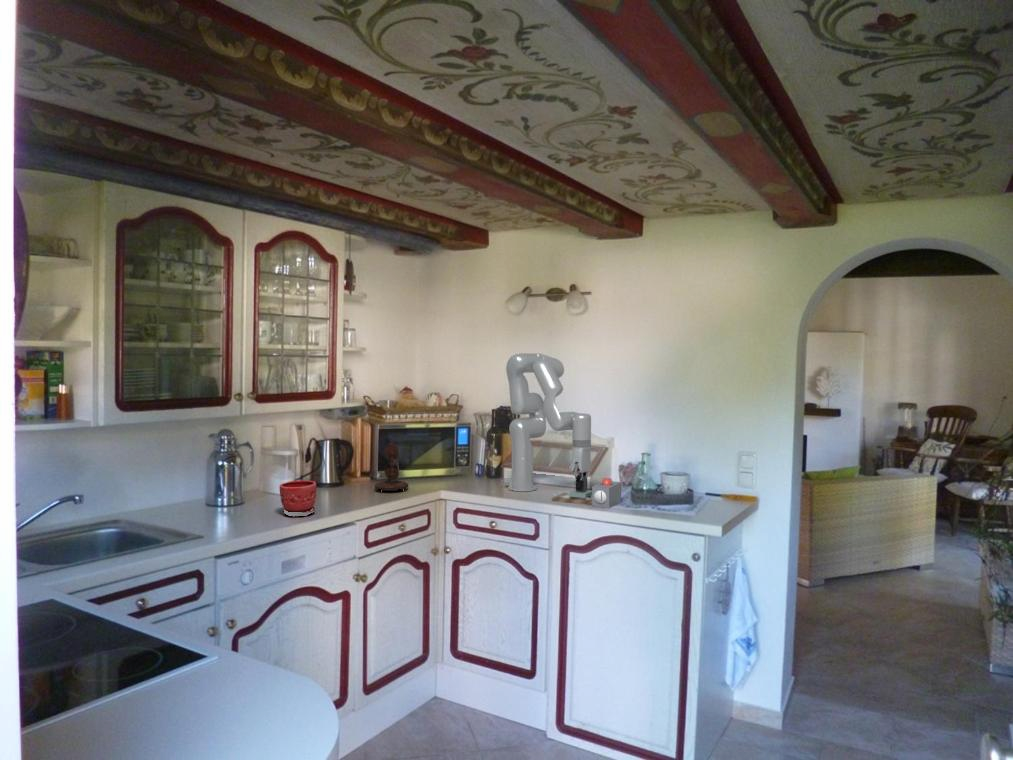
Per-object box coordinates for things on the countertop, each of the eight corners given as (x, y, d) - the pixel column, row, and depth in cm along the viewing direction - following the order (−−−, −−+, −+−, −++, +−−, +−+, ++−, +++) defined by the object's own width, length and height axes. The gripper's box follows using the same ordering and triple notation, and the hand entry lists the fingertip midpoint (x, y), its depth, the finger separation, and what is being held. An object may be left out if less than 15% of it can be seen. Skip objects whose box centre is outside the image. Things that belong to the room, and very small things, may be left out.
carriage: (569, 496, 290) (569, 476, 290) (577, 492, 298) (577, 473, 298) (585, 498, 287) (585, 478, 287) (593, 494, 295) (593, 474, 294)
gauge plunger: (601, 491, 286) (601, 479, 286) (604, 490, 290) (604, 477, 289) (609, 492, 285) (609, 480, 285) (612, 491, 288) (612, 478, 288)
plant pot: (286, 511, 275) (286, 479, 274) (320, 511, 274) (320, 480, 274) (274, 519, 262) (274, 486, 261) (310, 519, 261) (310, 486, 261)
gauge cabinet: (591, 506, 282) (591, 486, 282) (604, 500, 295) (604, 480, 295) (608, 508, 279) (608, 488, 279) (621, 501, 292) (621, 482, 292)
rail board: (551, 500, 294) (551, 495, 294) (560, 496, 302) (560, 491, 302) (594, 505, 285) (594, 499, 285) (602, 501, 293) (602, 495, 293)
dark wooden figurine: (410, 492, 310) (409, 446, 310) (375, 494, 307) (375, 447, 306) (406, 486, 325) (406, 442, 324) (373, 488, 321) (373, 443, 320)
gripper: (580, 441, 301) (580, 485, 301) (564, 445, 286) (564, 491, 287) (597, 442, 297) (597, 486, 298) (582, 447, 283) (582, 493, 283)
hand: (581, 488), depth 292 cm, fingers closed on carriage, 3 cm apart
